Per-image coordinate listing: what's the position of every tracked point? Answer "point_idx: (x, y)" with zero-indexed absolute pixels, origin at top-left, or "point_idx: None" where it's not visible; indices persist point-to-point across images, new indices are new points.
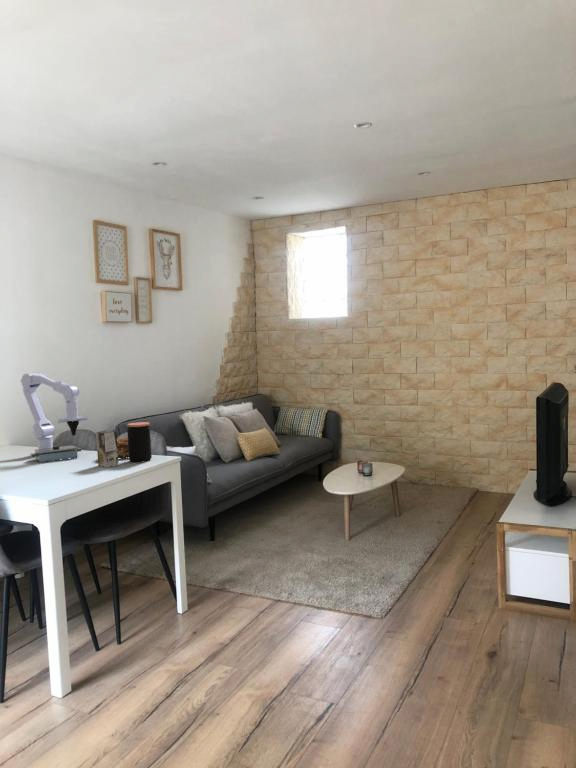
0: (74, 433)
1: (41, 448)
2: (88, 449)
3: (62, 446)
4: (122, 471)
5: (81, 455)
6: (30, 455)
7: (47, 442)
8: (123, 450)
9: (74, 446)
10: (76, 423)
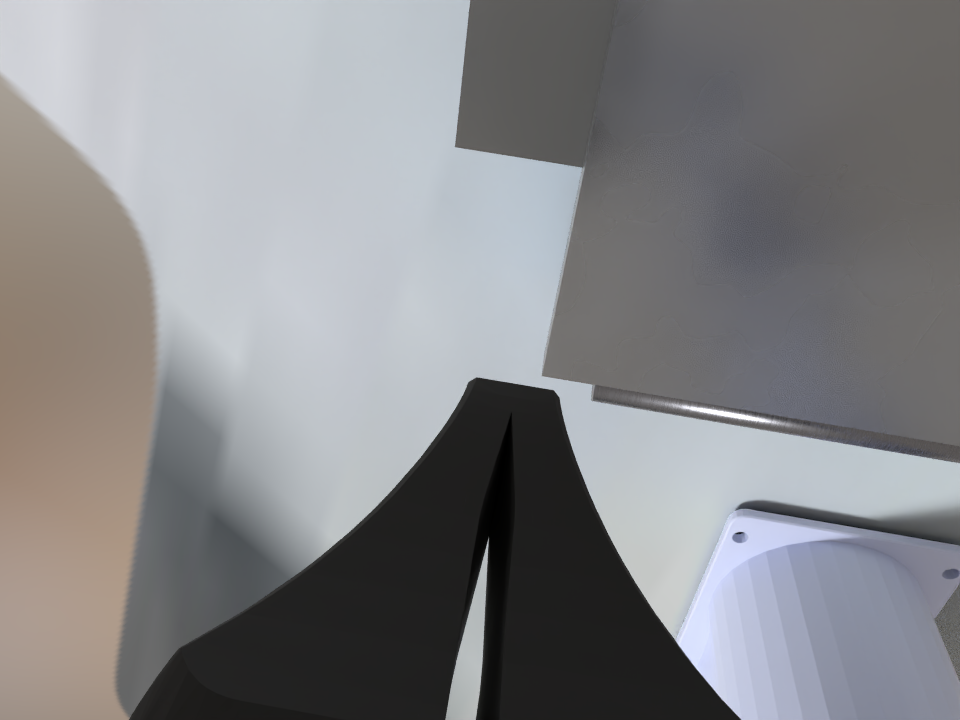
0: (498, 413)
1: (950, 664)
2: (209, 506)
3: (748, 407)
4: None
5: (464, 27)
6: None
7: (894, 717)
8: None
9: (618, 62)
10: (315, 678)
